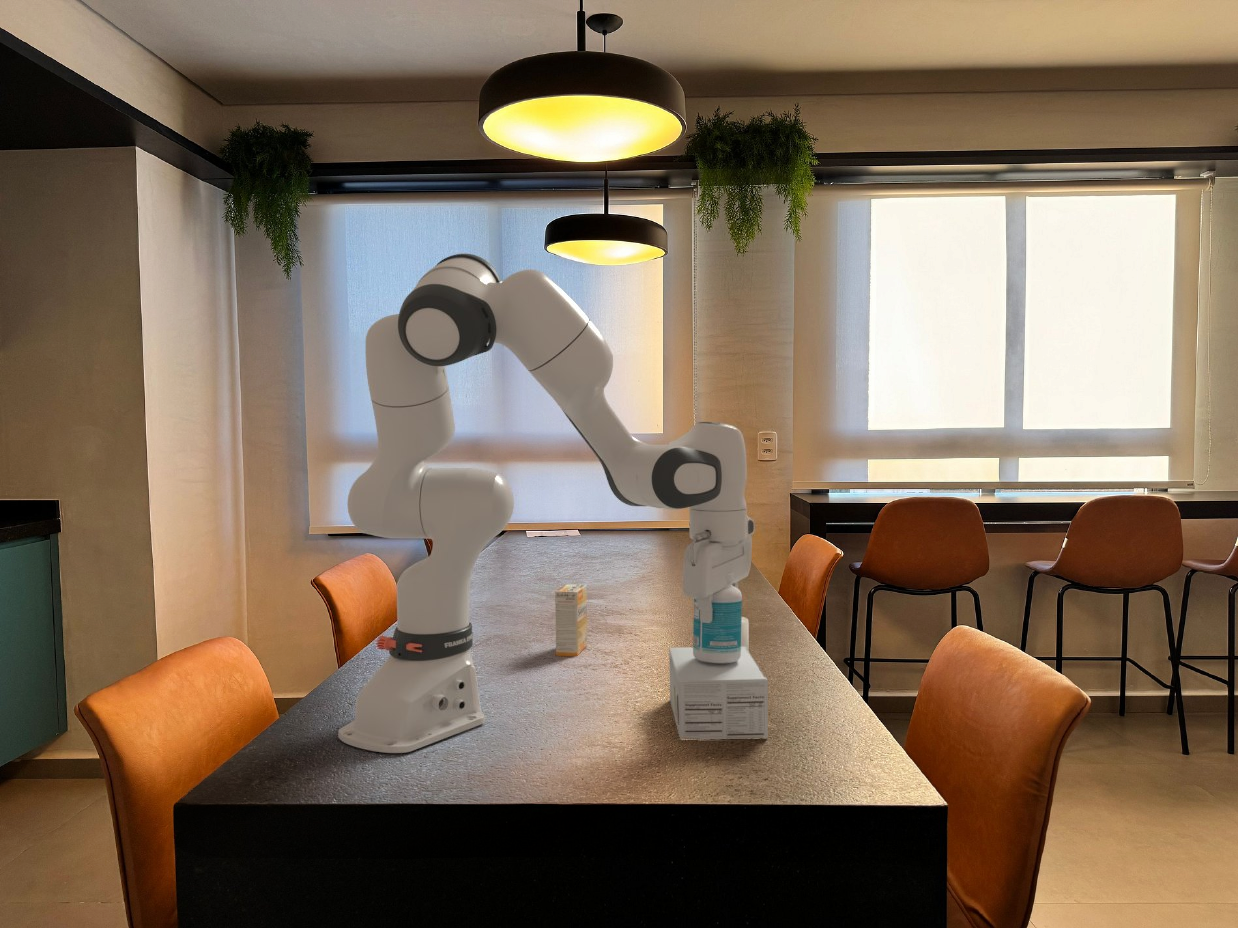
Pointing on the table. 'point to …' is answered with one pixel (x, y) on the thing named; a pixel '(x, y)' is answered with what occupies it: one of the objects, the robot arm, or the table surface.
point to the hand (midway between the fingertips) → (718, 615)
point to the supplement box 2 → (718, 697)
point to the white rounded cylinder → (745, 633)
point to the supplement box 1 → (571, 619)
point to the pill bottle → (720, 627)
